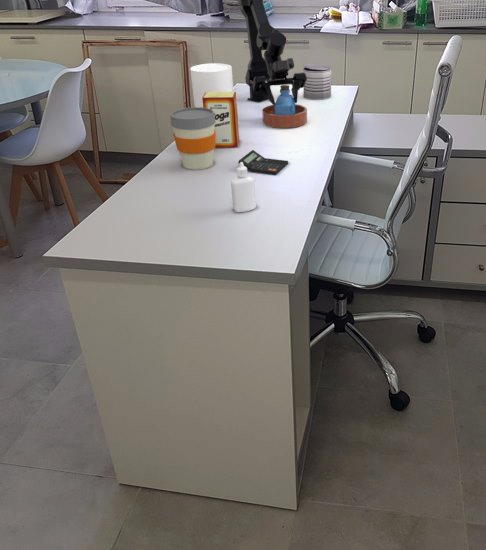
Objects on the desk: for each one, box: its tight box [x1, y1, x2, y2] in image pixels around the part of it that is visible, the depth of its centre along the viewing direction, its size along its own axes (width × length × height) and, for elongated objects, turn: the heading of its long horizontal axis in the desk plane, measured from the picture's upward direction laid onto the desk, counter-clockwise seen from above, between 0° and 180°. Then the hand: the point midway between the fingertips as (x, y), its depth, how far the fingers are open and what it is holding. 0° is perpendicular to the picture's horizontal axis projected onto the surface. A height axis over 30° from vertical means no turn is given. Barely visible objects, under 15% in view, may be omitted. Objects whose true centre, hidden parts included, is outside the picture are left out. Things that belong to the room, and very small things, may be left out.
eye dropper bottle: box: [230, 162, 257, 213], centre depth 137 cm, size 4×6×12 cm
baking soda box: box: [202, 91, 240, 149], centre depth 179 cm, size 10×6×16 cm
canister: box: [189, 62, 234, 108], centre depth 193 cm, size 14×14×20 cm
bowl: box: [261, 103, 308, 129], centre depth 201 cm, size 16×16×4 cm
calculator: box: [237, 149, 289, 176], centre depth 164 cm, size 9×12×3 cm
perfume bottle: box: [275, 84, 296, 115], centre depth 199 cm, size 6×6×12 cm
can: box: [302, 63, 332, 101], centre depth 229 cm, size 11×11×12 cm
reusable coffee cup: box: [170, 106, 216, 170], centre depth 164 cm, size 13×13×15 cm
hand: (285, 103), depth 197 cm, fingers closed on perfume bottle, 8 cm apart
